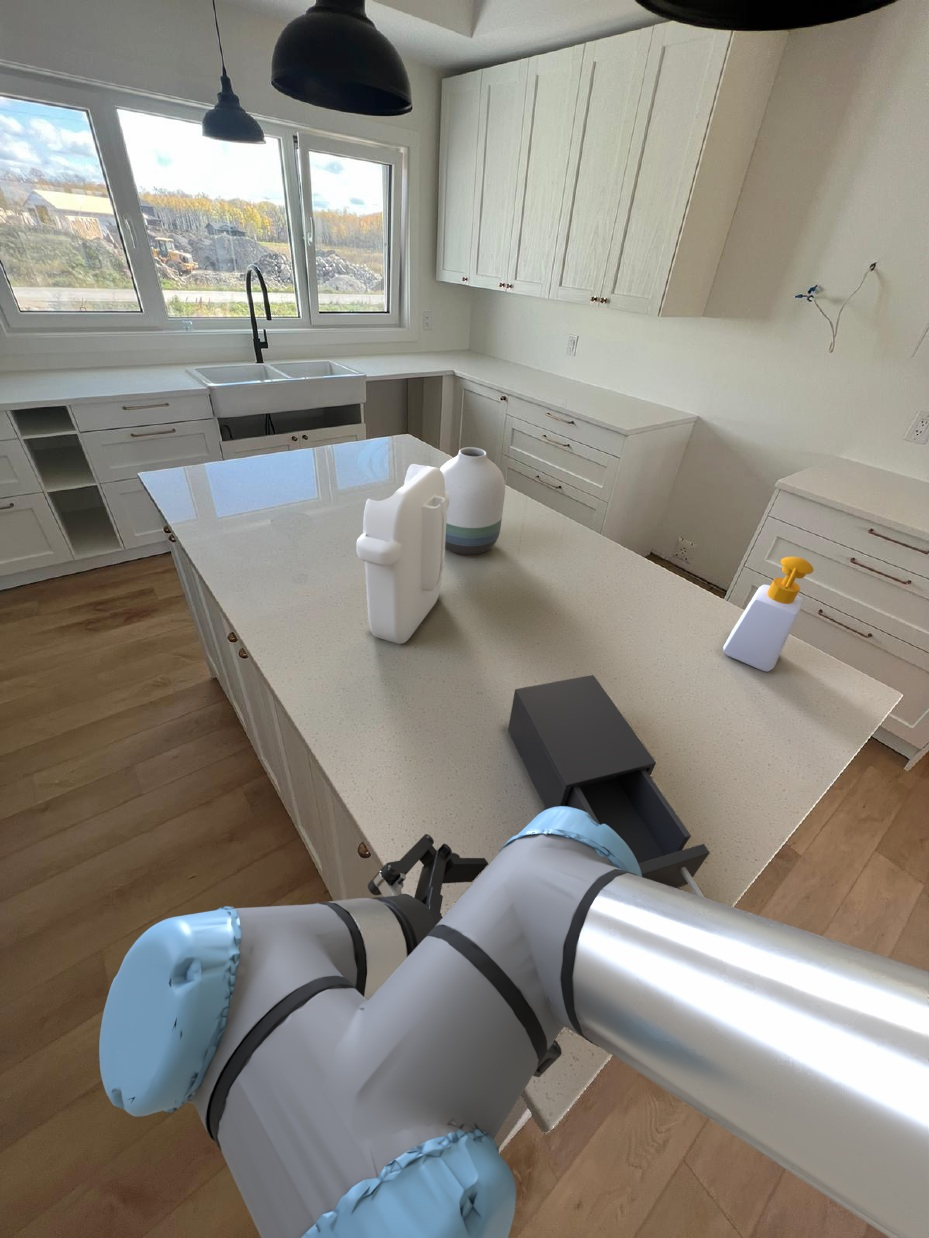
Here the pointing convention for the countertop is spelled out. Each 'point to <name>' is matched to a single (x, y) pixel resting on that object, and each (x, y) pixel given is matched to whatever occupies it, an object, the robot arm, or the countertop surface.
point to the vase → (473, 501)
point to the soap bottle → (768, 618)
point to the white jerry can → (404, 553)
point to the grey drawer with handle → (643, 826)
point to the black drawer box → (572, 737)
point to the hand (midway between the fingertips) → (517, 928)
